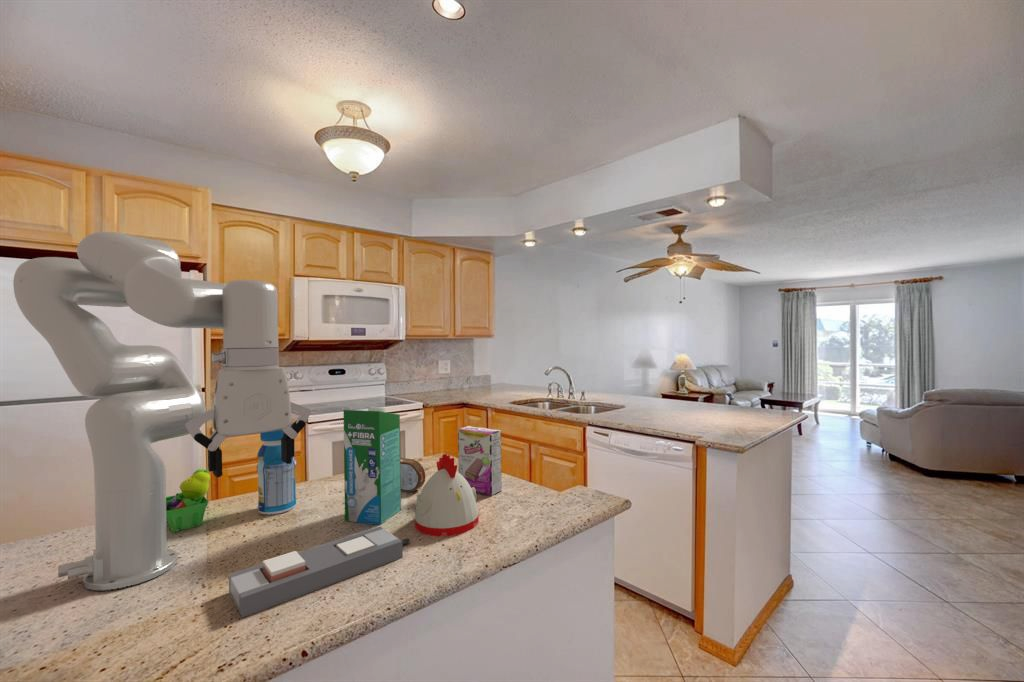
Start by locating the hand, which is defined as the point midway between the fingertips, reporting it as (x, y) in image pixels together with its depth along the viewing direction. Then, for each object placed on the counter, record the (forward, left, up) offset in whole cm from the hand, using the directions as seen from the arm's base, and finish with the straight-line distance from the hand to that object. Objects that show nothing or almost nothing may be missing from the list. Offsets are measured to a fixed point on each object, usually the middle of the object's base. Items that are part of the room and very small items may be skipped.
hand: (253, 468), depth 70 cm
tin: (+41, +30, -21) cm, 55 cm away
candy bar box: (+56, +14, -21) cm, 61 cm away
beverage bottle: (+13, +38, -21) cm, 45 cm away
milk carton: (+28, +18, -21) cm, 39 cm away
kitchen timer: (+38, +3, -21) cm, 44 cm away
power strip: (+12, 0, -20) cm, 24 cm away
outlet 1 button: (+4, 0, -18) cm, 19 cm away
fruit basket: (-4, +44, -21) cm, 49 cm away
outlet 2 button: (+16, 0, -19) cm, 25 cm away
